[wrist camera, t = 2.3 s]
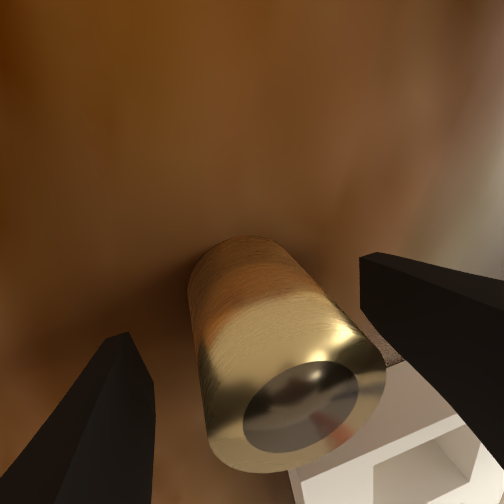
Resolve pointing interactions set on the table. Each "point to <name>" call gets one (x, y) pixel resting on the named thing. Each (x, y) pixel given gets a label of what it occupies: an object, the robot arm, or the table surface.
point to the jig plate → (404, 455)
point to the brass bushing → (276, 359)
